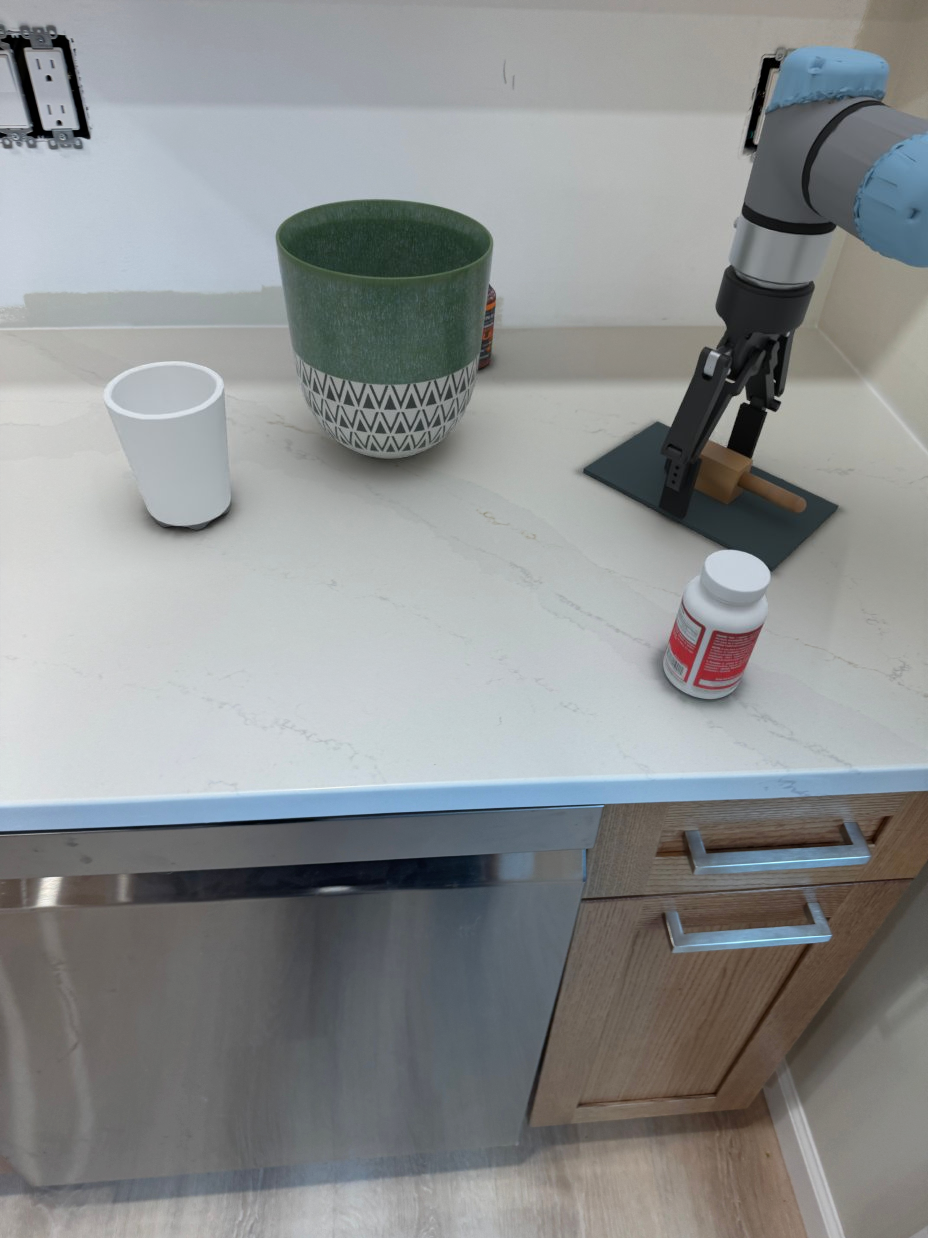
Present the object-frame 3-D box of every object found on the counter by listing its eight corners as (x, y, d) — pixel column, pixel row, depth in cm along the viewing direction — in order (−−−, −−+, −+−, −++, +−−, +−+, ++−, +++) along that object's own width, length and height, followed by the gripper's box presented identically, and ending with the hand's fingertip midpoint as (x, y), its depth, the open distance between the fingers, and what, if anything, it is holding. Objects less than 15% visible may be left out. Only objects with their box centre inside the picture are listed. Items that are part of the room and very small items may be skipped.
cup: (147, 551, 74) (111, 427, 65) (128, 491, 80) (94, 370, 71) (256, 526, 77) (236, 404, 68) (230, 470, 83) (209, 352, 74)
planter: (301, 395, 95) (282, 195, 80) (469, 395, 96) (481, 200, 82) (291, 495, 81) (266, 276, 66) (487, 493, 83) (506, 280, 68)
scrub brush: (803, 522, 81) (817, 489, 78) (789, 536, 79) (803, 502, 76) (677, 461, 88) (686, 428, 85) (662, 472, 86) (670, 439, 83)
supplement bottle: (479, 376, 100) (485, 283, 92) (435, 364, 102) (437, 272, 94) (498, 356, 104) (506, 265, 96) (456, 345, 106) (460, 255, 98)
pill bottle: (749, 668, 67) (794, 565, 59) (720, 714, 63) (763, 611, 56) (680, 634, 69) (714, 531, 62) (648, 677, 66) (680, 573, 58)
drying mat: (837, 509, 84) (838, 505, 83) (771, 571, 76) (773, 567, 76) (656, 424, 94) (657, 420, 94) (582, 471, 86) (583, 467, 86)
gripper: (796, 226, 77) (732, 429, 92) (653, 296, 64) (606, 519, 79) (873, 250, 73) (793, 456, 89) (739, 329, 60) (672, 555, 75)
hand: (705, 486), depth 84 cm, fingers open, 12 cm apart
